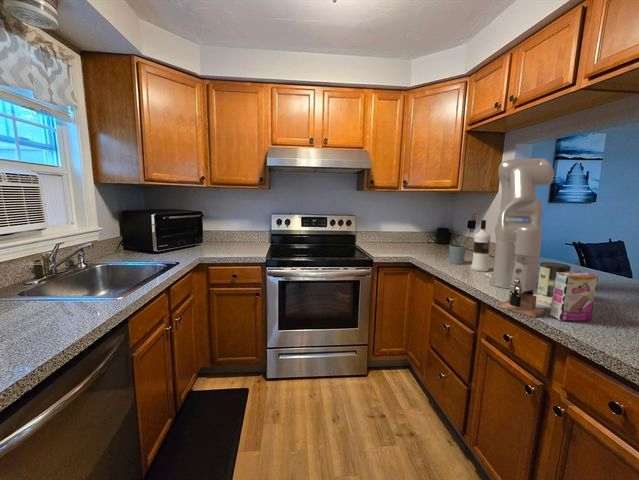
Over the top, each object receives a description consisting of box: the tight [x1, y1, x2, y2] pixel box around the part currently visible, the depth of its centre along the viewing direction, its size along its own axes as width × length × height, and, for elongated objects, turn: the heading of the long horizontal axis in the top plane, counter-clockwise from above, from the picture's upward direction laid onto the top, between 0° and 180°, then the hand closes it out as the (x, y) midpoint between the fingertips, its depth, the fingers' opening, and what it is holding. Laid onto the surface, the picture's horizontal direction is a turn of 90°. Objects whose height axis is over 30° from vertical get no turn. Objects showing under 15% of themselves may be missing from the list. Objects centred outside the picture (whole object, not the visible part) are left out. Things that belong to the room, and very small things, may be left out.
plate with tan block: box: [499, 290, 545, 318], centre depth 107 cm, size 12×7×6 cm, turn 31°
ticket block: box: [533, 293, 552, 309], centre depth 116 cm, size 12×8×2 cm, turn 31°
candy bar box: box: [549, 271, 599, 322], centre depth 99 cm, size 11×5×16 cm, turn 92°
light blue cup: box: [448, 243, 467, 266], centre depth 186 cm, size 10×10×12 cm
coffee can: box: [536, 261, 572, 298], centre depth 123 cm, size 10×10×14 cm
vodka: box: [470, 219, 492, 273], centre depth 167 cm, size 9×9×30 cm
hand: (521, 303), depth 107 cm, fingers open, 9 cm apart
